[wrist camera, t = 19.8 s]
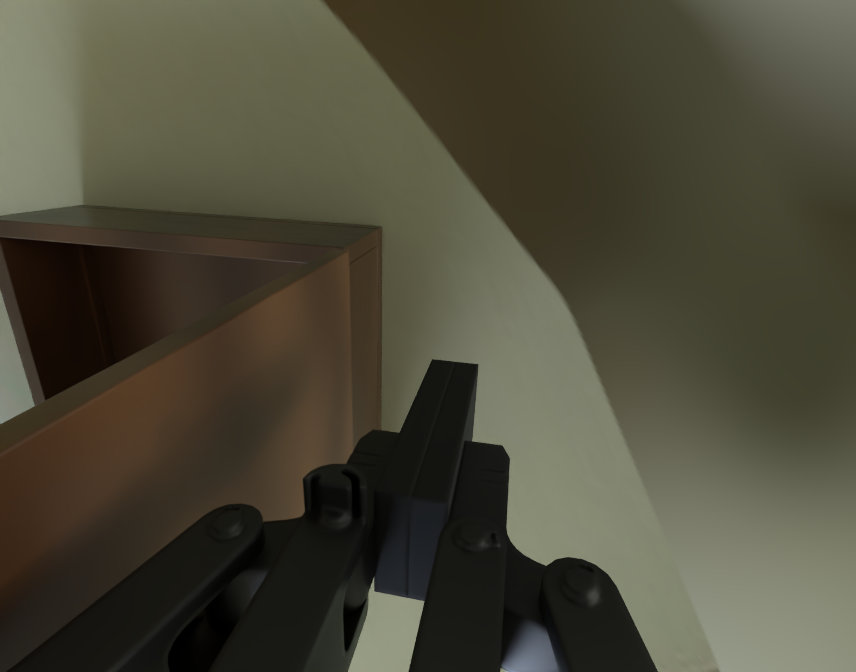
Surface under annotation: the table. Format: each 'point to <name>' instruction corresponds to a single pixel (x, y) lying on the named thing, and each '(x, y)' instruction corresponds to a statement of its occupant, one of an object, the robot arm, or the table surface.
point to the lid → (172, 446)
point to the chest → (166, 286)
